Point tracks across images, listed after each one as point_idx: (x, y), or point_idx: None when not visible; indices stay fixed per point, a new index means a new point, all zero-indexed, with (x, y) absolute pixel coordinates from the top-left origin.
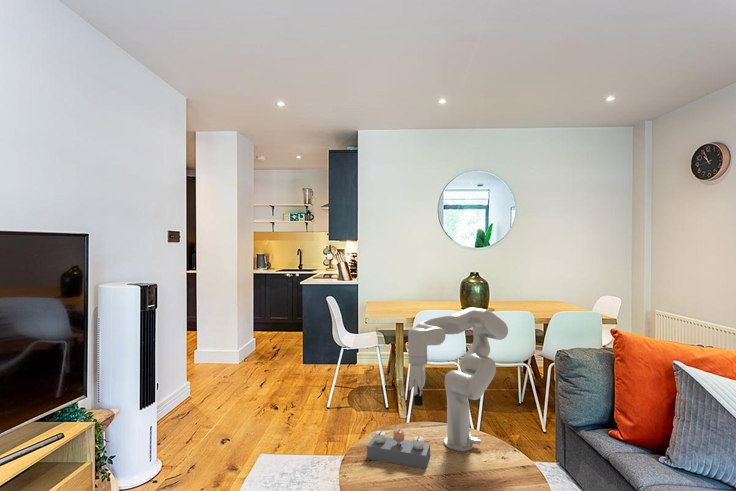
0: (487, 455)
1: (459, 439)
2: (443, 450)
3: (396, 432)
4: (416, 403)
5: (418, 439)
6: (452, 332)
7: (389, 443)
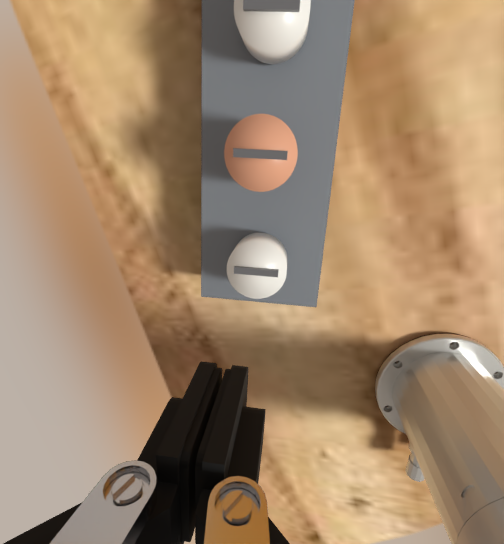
0: (364, 465)
1: (402, 416)
2: (375, 331)
3: (242, 140)
4: (171, 401)
5: (247, 274)
6: None
7: (269, 96)
